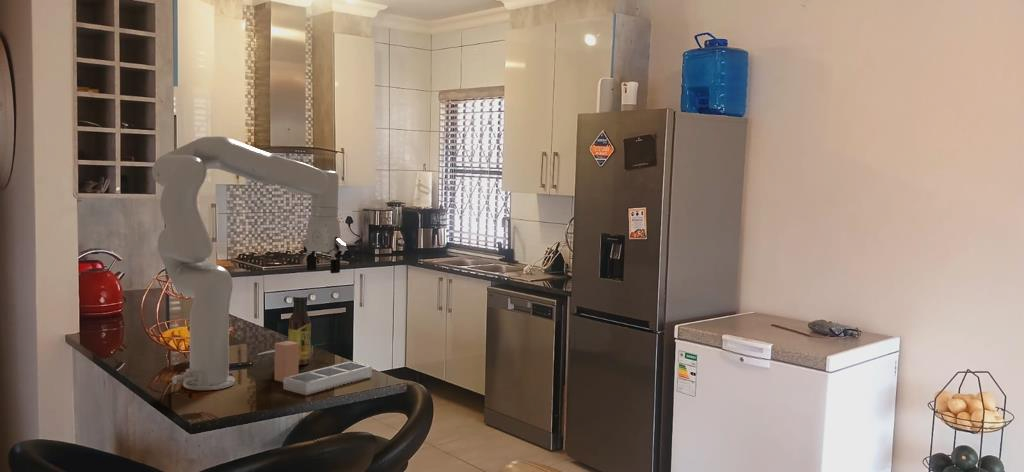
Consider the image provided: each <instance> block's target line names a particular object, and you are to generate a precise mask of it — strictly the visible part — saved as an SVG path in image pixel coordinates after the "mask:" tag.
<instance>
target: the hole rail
mask: <svg viewBox="0 0 1024 472" xmlns="http://www.w3.org/2000/svg"><path fill="white" fill-rule="evenodd" d="M372 367H373V366H372V365H367V364H362V363H358V362H354V361H350V360H349V361H346V362H341V363H338V364H334V365H330V366H325V367H321V368H318V369H313V370H309V371H305V372H301V373H298V374H297V375H293V376H289V377H285V378H283V382H282V383H283V390H286V391H289V392H293V393H296V394H301V395H305V396H308V395H311V394H316V393H318V392H323V391H326V389H327V390H330V389H333V387H334V388H337V387H340V385H341V386H344V385H343V384H345V385H347V383H348V384H350V383H351V382H352V383H355V382H358V381H362V380H366V379H369V378H372V377H373V376H372V375H373V374H372V373H373V372H372V371H373V368H372ZM352 383H351V384H352Z"/></svg>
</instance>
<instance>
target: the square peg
mask: <svg viewBox="0 0 1024 472" xmlns="http://www.w3.org/2000/svg"><path fill="white" fill-rule="evenodd" d="M274 350H275V352H274V381H276V382H280V383H283V378H285V377H289V376H293V375H297V374H300V373H299V368H300V367H299V366H300V365H299V343H296V342H291V341H288V340H285V341H280V342H275V343H274Z"/></svg>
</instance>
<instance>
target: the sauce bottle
mask: <svg viewBox="0 0 1024 472" xmlns="http://www.w3.org/2000/svg"><path fill="white" fill-rule="evenodd" d="M292 301H293V310H292V311H293V313H292V314H291V315H290V317H289V319H288V322H289V323H288V333H287V334H288V340H287V341H291V342H296V343H299V366H304V365H305V366H306V365H308V364H309V363H310V359H311V329H312V322H311V320H310V317H309V313H308V309H307V308H308V305H307V304H308V303H307V302H308V296H307V295H294V296H293V297H292Z"/></svg>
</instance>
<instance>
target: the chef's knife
mask: <svg viewBox="0 0 1024 472" xmlns="http://www.w3.org/2000/svg"><path fill="white" fill-rule="evenodd" d="M273 353H275V349H271V350H267V351H263V352H260V353H258V354H256V355H257V356H258V355H265V354H273Z"/></svg>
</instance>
